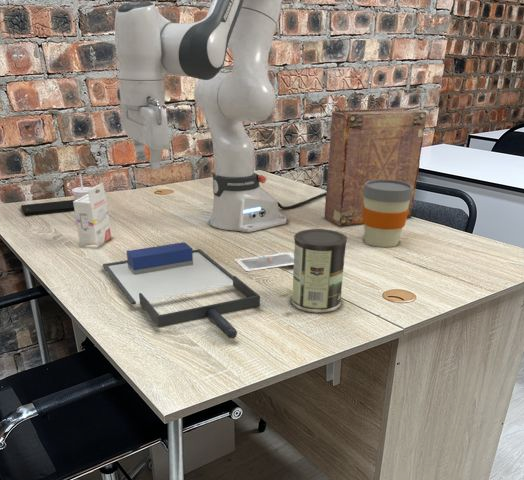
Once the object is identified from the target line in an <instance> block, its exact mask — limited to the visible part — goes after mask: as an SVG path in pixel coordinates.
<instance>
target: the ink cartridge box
mask: <svg viewBox="0 0 524 480" xmlns="http://www.w3.org/2000/svg"><path fill="white" fill-rule="evenodd" d="M95 191H96V193H95V194H94V192H95ZM97 191H98V192H97ZM74 200H75V199H74ZM73 204H74V210H73V211H74V216H75V221H76V228H77V233H78V239H79V246H80V247H85V246H92V245H99V244H105V243H106V242H107V241H109V240H110V239H112V234H111V225H110V217H109V210H108V201H107V194H106V190H105V185H104V182H101V183H99V184H97V185H95V186H93V188H91V189H89V190H88V194H87V195H85V196H83V197H81V198H79V199H77V200H75V201H73Z"/></svg>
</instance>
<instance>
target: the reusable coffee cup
mask: <svg viewBox="0 0 524 480" xmlns="http://www.w3.org/2000/svg"><path fill="white" fill-rule="evenodd" d="M363 196H364V204H363V206H362V209H363V223H364V224H363V228H364V229H363V231H364V233H363V234H364V238H363V239H364V242H365V243H366V244H367V245H370V246H373V247H378V248H391V247H395V246H397V245H399V241H400V237H401V235H402V230H403V228H404V227H405V226H406V223H407V219H408V218H407V215H408V212H409V207H408V206H409V202H410V200H411V199H412V185H410V184H408V183H405V182H401V181H395V180H371V181H368V182H366V183H365V186H364V191H363Z"/></svg>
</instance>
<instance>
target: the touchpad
mask: <svg viewBox="0 0 524 480" xmlns="http://www.w3.org/2000/svg"><path fill="white" fill-rule="evenodd" d="M234 261H235V262H236V263H237V264H238V265H239V266H240V267H241V268H242V269H243V270H244V271H245V272H252V271H259V270H265V269H273V268H279V267H280V268H281V267H289V266H294V253H293V252H292V251H289V252H288V251H287V252H280V253H273V254H267V255H266V254H265V255H259V256H251V257H244V258H236V259H234Z"/></svg>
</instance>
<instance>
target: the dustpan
mask: <svg viewBox="0 0 524 480" xmlns="http://www.w3.org/2000/svg"><path fill="white" fill-rule="evenodd" d="M232 287H234V289H236V290H237V291H238V292H239V293H241V294H242V295H243V296H244V297H243V298H237V299H231V300H228V301H223V302H217V303H213V304H207V305H203V306H198V307H193V308H188V309H183V310H178V311H173V312H167V313H164V314H159V313H158V311H157V310H156V309H155V308H154V306H153V305H152V304H151V303H150V301H147V299H146V298H145V297H144V296H143V294H142V293H139V299H140V303H139V304H140V306H141V307H142V309H143V310H144V311H145V312H146V314H147V315H148V316H149V318H150V319H151V320H152V321H153V322H154V324H155V325H156V326H157V328H164V327H168V326H173V325H178V324H182V323H188V322H191V321H197V320H201V319H206V318H208V319H209V320H210V321H211V322H212V323H213V325H215V326H216V327H217V328H218V329H219V330H220V331H221V332H222V334H224V335H225V336H226V337H227V338H228V339H232V340H233V339H235V338H236V337H237V336H238V331H237V329H236V328H235V327H234V326H233V325H232V324H231V323H230V322H229V321H228V320H227V319H226V318H225V317H224V316H223V315H224V314H225V315H226V314H230V313H235V312H239V311H244V310H249V309H253V308H254V309H255V308H258V307H260V306H261V295H259V294H258V293H257V292H256V291H255V290H253V289H252V288H251V287H249V285H247V283H245V282H243V281H242V280H241V279H240V278H239V277H237V276H236V275H233V285H232Z"/></svg>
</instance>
